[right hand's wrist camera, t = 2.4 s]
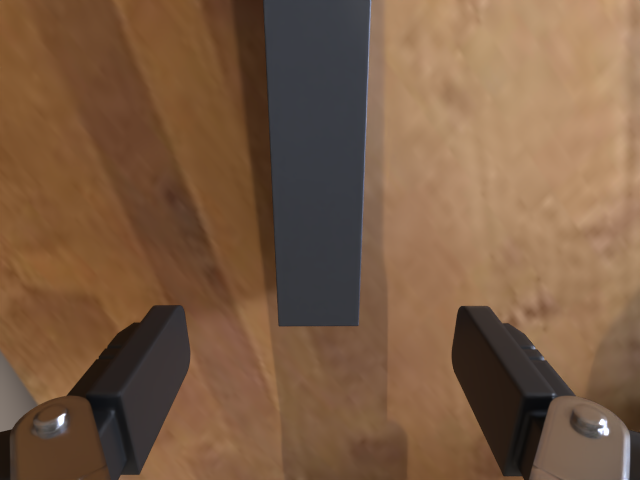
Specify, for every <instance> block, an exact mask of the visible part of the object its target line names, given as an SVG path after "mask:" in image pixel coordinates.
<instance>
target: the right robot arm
mask: <svg viewBox="0 0 640 480" xmlns="http://www.w3.org/2000/svg"><path fill="white" fill-rule="evenodd" d="M189 363H190V346H189V339H188V332H187V325H186V318H185V312H184V309H183V307H182V306H181V305H155V306H153V307H152V308H151V309H150V311H149V312H148V313H147V315H146V316H145V317H144V319H143V320H142V321H141V322H140V323H133V324H131V325H130V326H128V327H127V328H125V329H124V330H122V331H121V332H119V333H118V334H117V335H116V336H115V338H114V339H113V340H112V341H111V342H110V344H109V345H108V347H107V349H105V350H104V351H103V352H102V353H101V355H100V356H99V359H96V361H95V362H94V363H93V364H92V365H91V367H90V368H89V369H88V370H87V372H86V373H85V374H84V375H83V376H82V378H81V379H80V380H79V381H78V382H77V384H76V385H75V386H74V387H73V389H72V390H71V391H70V392H69V393H68V395H67V396H64V397H59V398H55V399H52V400H49V401H47V402H44V403H42V404H40V405H38V406H36V407H35V408H33V409H32V410H30V411H29V412H28V413H26V414H25V415H24V416H23V417H22V418H20V419H19V421H18V422H17V423H16V424H15V426H14V427H13V429H11V430H7V431H3V432H0V480H118V479H119V477H120V475H139V474H140V472H141V470H142V468H143V466H144V463H145V461H146V459H147V457H148V455H149V453H150V451H151V448H152V446H153V444H154V442H155V440H156V438H157V436H158V434H159V431H160V429H161V427H162V425H163V423H164V421H165V419H166V416H167V414H168V412H169V410H170V408H171V406H172V404H173V401H174V399H175V397H176V395H177V393H178V391H179V389H180V386H181V384H182V382H183V380H184V378H185V376H186V374H187V371H188V368H189ZM452 364H453V369H454V372H455V374H456V376H457V379H458V381H459V383H460V385H461V387H462V389H463V391H464V393H465V396H466V398H467V400H468V402H469V404H470V406H471V408H472V410H473V412H474V415H475V417H476V419H477V421H478V423H479V425H480V427H481V429H482V431H483V434H484V436H485V438H486V440H487V442H488V444H489V446H490V448H491V450H492V453H493V455H494V457H495V459H496V461H497V463H498V465H499V467H500V469H501V472H502V474H503V476H523V478H524V480H640V433H638V432H634V431H631V430H628V429H627V427H626V426H625V424H624V423H623V422H622V420H621V419H620V418H619V417H617V416H616V415H615V414H614V413H613V412H611V411H610V410H608V409H607V408H605V407H604V406H602V405H600V404H598V403H596V402H593V401H591V400H588V399H585V398H581V397H576V395H575V394H574V393H573V392H572V391H571V389H570V388H569V387H568V386H567V385H566V383H565V382H564V381H563V380H562V379H561V377H560V376H559V375H558V374H557V373H556V371H555V370H554V369H553V368H552V367H551V365H550V364H549V363H548V362H547V361H546V360H544V357H543V356H542V355H541V353H540V352H539V351H538V350H537V349H535V346H534V345H533V344H532V342H531V341H530V340H529V339H528V338H527V336H526V335H525V334H524V333H522V332H521V331H519V330H517V329H516V328H514V327H513V326H511V325H510V324H508V323H501V321H500V320H499V319H498V317H497V316H496V315H495V314H494V312H493V311H492V310H491V308H490V307H488V306H461V307H460V308H459V310H458V313H457V319H456V326H455V333H454V339H453V346H452Z"/></svg>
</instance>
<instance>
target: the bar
mask: <svg viewBox="0 0 640 480" xmlns="http://www.w3.org/2000/svg"><path fill="white" fill-rule="evenodd" d="M263 8H264V29H265V50H266V71H267V92H268V113H269V134H270V155H271V176H272V197H273V218H274V239H275V260H276V281H277V302H278V323H279V326H358V325H359V301H360V275H361V249H362V222H363V196H364V170H365V144H366V118H367V91H368V65H369V39H370V13H371V0H263Z"/></svg>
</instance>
